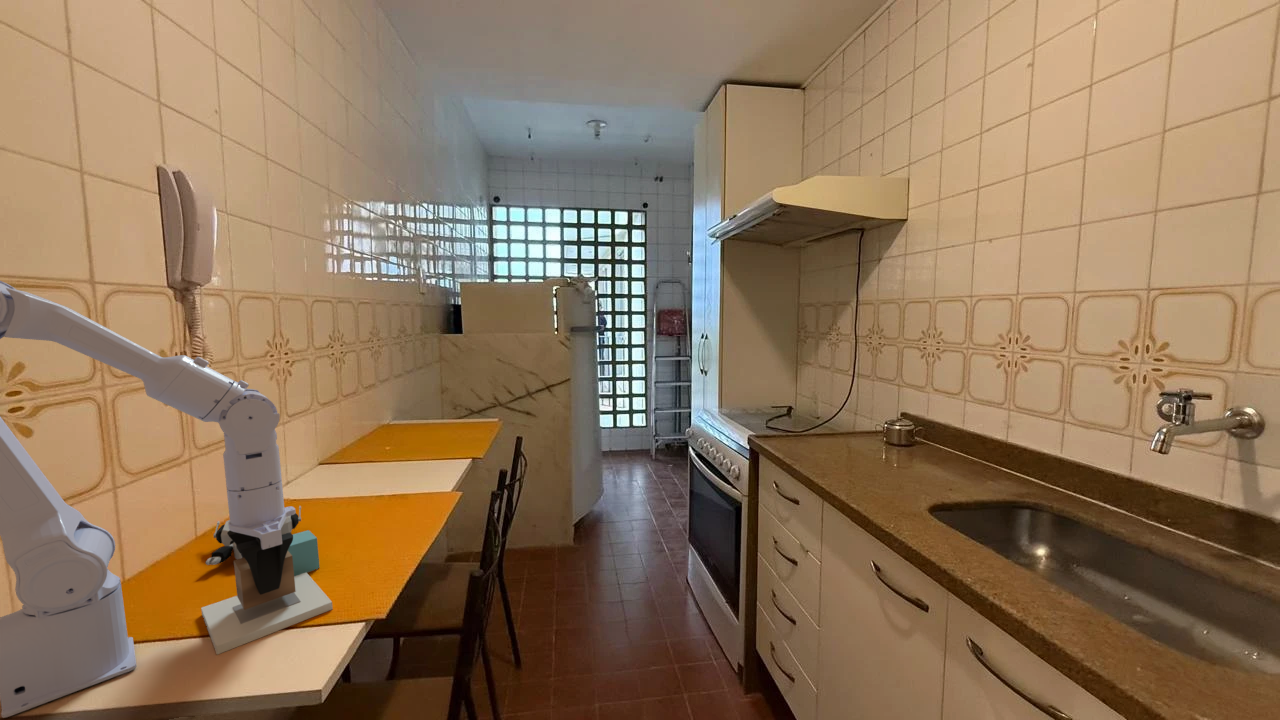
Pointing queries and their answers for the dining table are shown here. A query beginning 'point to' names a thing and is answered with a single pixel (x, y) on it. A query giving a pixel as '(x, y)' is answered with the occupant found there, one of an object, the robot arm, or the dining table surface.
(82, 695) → the dining table surface
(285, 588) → the walnut brick
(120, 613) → the robot arm
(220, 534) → the robot toy
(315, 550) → the teal brick
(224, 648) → the build plate
